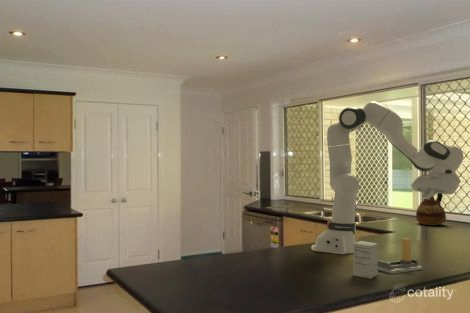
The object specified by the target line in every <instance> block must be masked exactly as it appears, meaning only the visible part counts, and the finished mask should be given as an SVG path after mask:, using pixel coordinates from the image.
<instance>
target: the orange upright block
mask: <svg viewBox="0 0 470 313" xmlns="http://www.w3.org/2000/svg"><path fill="white" fill-rule="evenodd" d="M411 240H412V239H410V238H406V237H402V241H401V242H402V244H401V246H402V247H401V259H399V261H400V264H407V263H412V260H410V258H411V256H412V255H411V253H412V252H411V251H412V250H411V248H412V246H411V245H412V241H411Z"/></svg>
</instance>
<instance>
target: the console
mask: <svg viewBox="0 0 470 313" xmlns="http://www.w3.org/2000/svg"><path fill="white" fill-rule="evenodd" d="M410 260H412V263H407V264H400V260H395V261H384V260H380V259H378V271H381V272H385V273H388V274H391V275H394V274H401V273H408V272H409V273H410V272H416V271H422V270H423V269H424V268H423V266H422V265H419V264H418V261H419V260H418V259H415V258H411V257H410Z"/></svg>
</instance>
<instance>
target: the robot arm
mask: <svg viewBox="0 0 470 313" xmlns="http://www.w3.org/2000/svg"><path fill="white" fill-rule="evenodd" d="M364 124H368V125H371V126H372V127H373V128H374V129H376V130H378V131H379V132H380V133H381V134H382V135H383V136H385V137H386V140H387V141H388V142H389V143H390V144H391V145H392V146H393V147H394V148H395V149H396V150H398V151H399V152H400V153H401V154H402V155H404V156H405V157H406V158H407V159H408V160H409V161H410V162H411V164H412V165H413V167H414V168H415V169H417V170H418V171H420V172H429V171H430V172H429V173H428V174H422V175H419V176H417V177H416V178H415V180H413V182H412V183H411V185H410V186H411V188H412V190H413V192H420V193H422V195H421V197H422V199H423V200H424V199H430V198H431V197H432V196H433V197H434V196H435V195H436V194H438V193H440V194H442V195H453V194H454V193H456V191H457V189H458V188H459V185H460V184H461V182H462V181H461V179H460V177H459V175H458V174H457V173H456V171H457V170H458V169H459V168H460V166H461V164H462V162H463V160H464V153H463V150H462V149H461V148H460V147H458V146H456V145H446V144H443V143H441V142H440V141H438V140H434V139H431V140H430V139H429V140H427V141H426V142H425V143H424V144H423V145H422V146H421V148H419V149H418V148H417V147H415V146H414V145H413V144H412V143H411V142H410V141H409V140H407V139H406V137H405V136H404V133H403V132H404V131H403V127H404V124H403V119H402V118H401V116H399V115H398V114H397V113H396V112H394V111H393V110H391V109H390V108H389V107H387V106H385V105H384V104H381V103H379V102H377V101H369V102H368V103H366V104H365V105H364V107H353V106H349V107H346V108H344V109H343V110H341V112H340V113H339V116H338V122H337V123H332V124H330V125H329V126H328V128H327V131H326V132H327V133H326V145H327V150H328V151H327V152H328V160H329V187H330V189H331V190H332V191H333V192H334V195H333V201H332V206H331V208H332V209H331V220H330V221H327V222H326V224H327V229H325V230H324V231H323V232H321V233H320V234H319V235H318V236H317V237H316V240H315V244H312V245H311V247H310V248H311V251H314V252H321V253H327V254H328V253H331V254H338V255H347V254H353V252H354V243H356V238H355V237H356V236H355V235H356V231H357V230H356V223H355V216H356V214H355V213H356V212H355V210H356V202H357V198H358V191H359V189H360V182H359V179H358V178H357V177H356V176H355V175H354V174H353V173H352V162H353V156H352V155H353V154H352V149H351V142H350V134H351V133H352V132H354V131H357V130H359V129H360V128H362V127H363V125H364Z"/></svg>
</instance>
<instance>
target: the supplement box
mask: <svg viewBox="0 0 470 313" xmlns="http://www.w3.org/2000/svg"><path fill="white" fill-rule="evenodd" d="M352 254H353V259H352V260H353V264H352V271H353V272H352V275H353V276H356V277H361V278H366V279H372V278H374V277H376V276H378V273H379V272H378V271H379V270H378V260H379V258H378V257H379V243H377V242H371V241H370V242H369V241H363V240H359V241H356V242H355V243H354V252H353V253H352Z"/></svg>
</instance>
